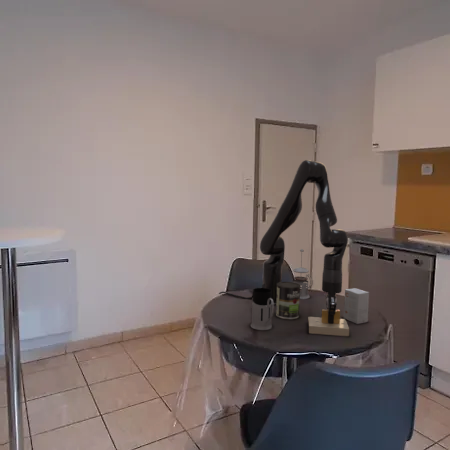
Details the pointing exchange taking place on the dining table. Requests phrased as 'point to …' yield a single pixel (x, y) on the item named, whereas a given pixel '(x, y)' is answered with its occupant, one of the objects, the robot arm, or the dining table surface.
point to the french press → (302, 280)
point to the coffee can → (288, 300)
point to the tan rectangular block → (325, 316)
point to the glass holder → (262, 309)
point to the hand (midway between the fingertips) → (330, 322)
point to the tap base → (327, 327)
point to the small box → (356, 305)
